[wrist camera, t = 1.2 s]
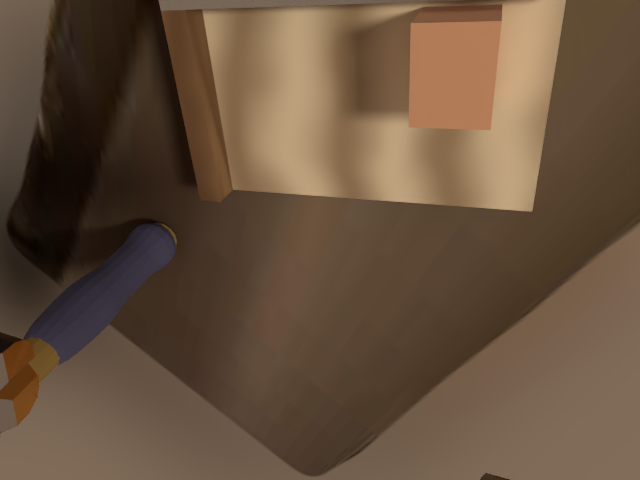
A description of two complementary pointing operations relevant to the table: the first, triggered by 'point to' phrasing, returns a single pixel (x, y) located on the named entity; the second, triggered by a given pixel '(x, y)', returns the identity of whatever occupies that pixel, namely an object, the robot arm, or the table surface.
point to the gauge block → (454, 66)
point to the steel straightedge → (266, 3)
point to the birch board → (354, 104)
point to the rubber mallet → (98, 297)
